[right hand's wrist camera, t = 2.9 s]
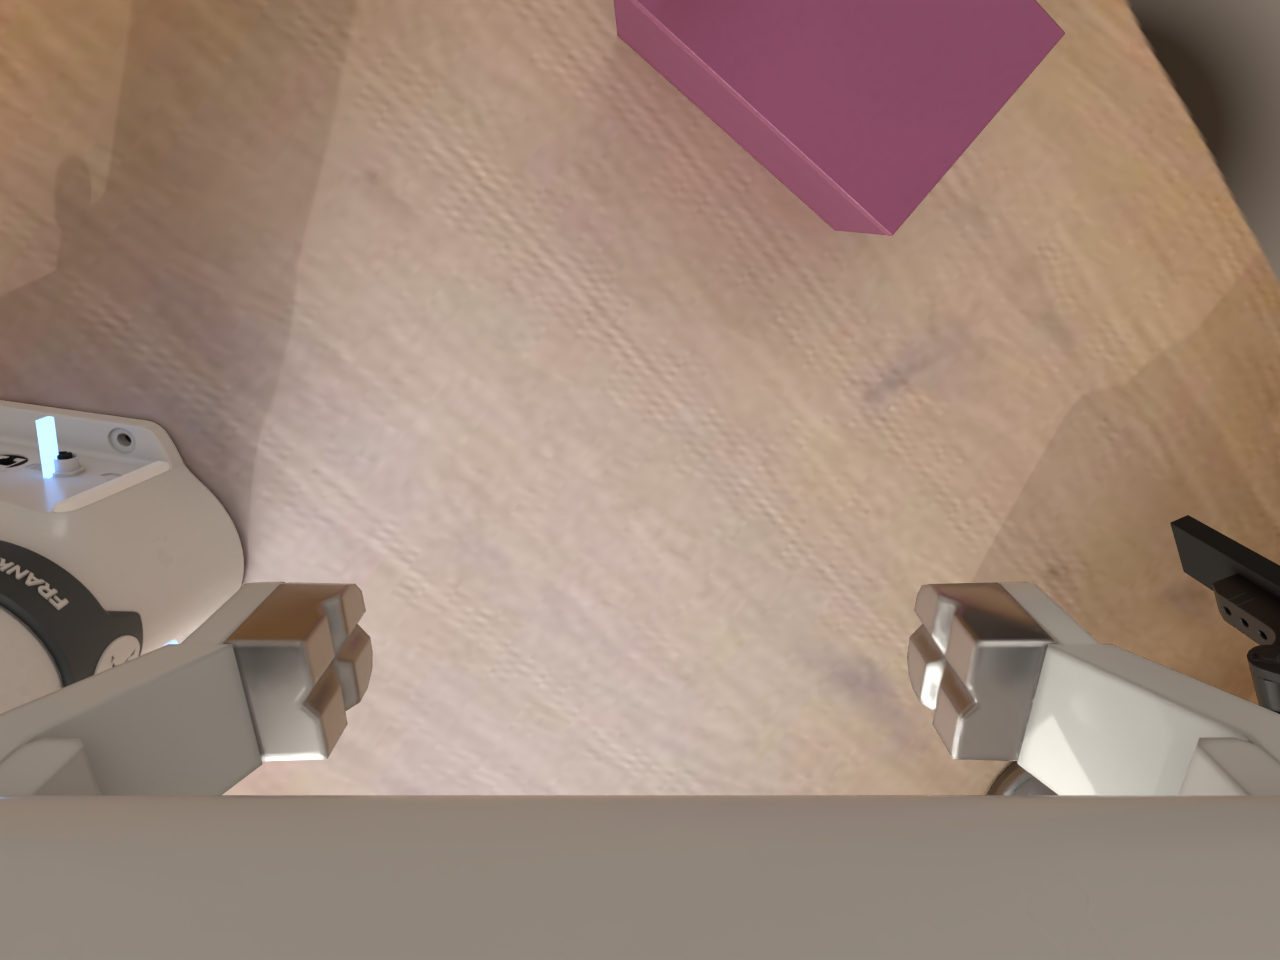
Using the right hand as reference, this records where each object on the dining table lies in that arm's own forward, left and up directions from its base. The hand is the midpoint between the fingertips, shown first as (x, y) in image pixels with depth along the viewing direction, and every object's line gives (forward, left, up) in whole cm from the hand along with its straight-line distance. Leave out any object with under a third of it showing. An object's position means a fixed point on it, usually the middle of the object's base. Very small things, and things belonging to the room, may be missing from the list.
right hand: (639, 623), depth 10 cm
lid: (+3, +16, -25) cm, 30 cm away
